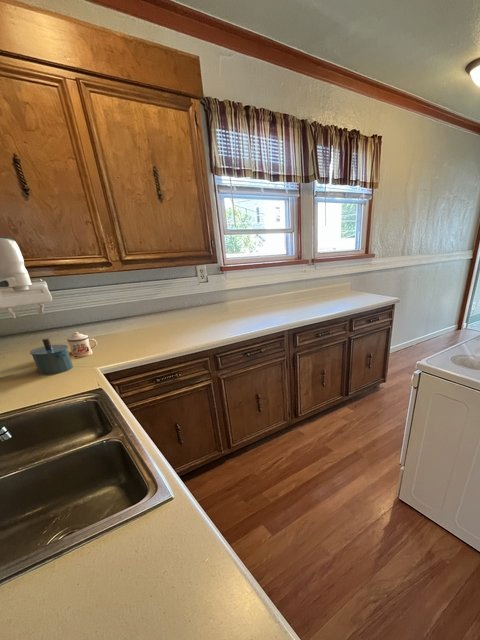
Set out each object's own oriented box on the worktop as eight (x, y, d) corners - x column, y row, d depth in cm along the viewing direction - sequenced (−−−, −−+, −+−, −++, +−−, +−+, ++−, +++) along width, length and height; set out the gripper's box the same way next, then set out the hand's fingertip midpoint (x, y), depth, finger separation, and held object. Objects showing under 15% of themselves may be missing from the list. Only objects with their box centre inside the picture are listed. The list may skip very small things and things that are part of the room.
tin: (53, 378, 137) (45, 357, 133) (30, 371, 145) (21, 351, 140) (82, 369, 147) (76, 349, 143) (59, 362, 155) (52, 343, 150)
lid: (41, 358, 134) (36, 345, 131) (23, 353, 139) (18, 341, 137) (75, 349, 145) (71, 337, 142) (57, 345, 150) (52, 333, 148)
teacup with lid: (72, 358, 160) (64, 335, 154) (72, 353, 166) (64, 331, 161) (100, 354, 166) (93, 331, 160) (98, 349, 172) (92, 328, 167)
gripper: (40, 278, 138) (51, 311, 145) (-19, 282, 122) (-5, 319, 128) (49, 278, 136) (59, 312, 142) (-11, 283, 120) (4, 321, 126)
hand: (29, 316), depth 135 cm, fingers open, 8 cm apart
